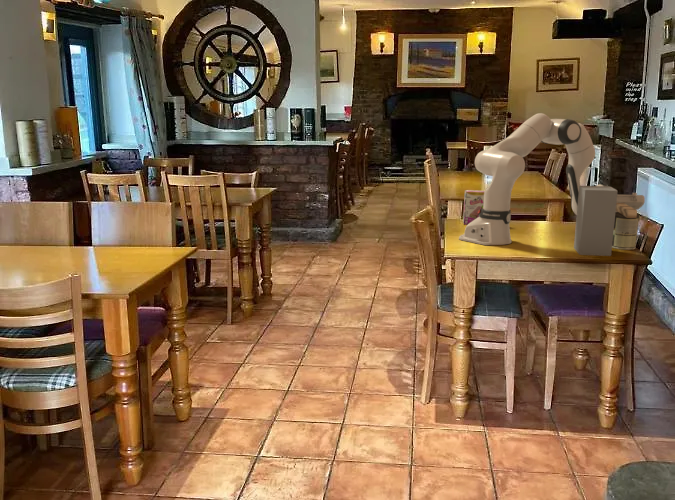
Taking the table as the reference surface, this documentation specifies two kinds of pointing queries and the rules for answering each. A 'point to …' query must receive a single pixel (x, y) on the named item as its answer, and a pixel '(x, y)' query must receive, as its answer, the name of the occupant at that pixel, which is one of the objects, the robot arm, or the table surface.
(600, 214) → the pedestal
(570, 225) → the table surface
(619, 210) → the beech bar
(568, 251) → the table surface
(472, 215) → the candy bar box
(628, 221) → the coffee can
